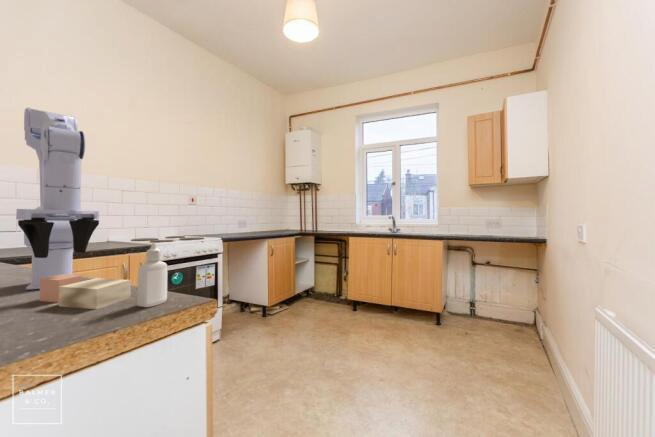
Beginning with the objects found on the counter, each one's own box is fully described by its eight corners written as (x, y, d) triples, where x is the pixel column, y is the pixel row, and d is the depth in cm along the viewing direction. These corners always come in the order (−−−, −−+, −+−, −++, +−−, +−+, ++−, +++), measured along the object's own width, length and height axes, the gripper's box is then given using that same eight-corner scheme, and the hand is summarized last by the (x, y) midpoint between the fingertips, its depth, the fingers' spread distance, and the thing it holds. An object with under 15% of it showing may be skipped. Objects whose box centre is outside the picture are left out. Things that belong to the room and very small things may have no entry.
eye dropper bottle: (171, 303, 60) (173, 243, 60) (139, 309, 56) (141, 244, 56) (163, 298, 63) (165, 241, 63) (133, 304, 59) (134, 243, 59)
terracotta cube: (39, 301, 60) (39, 278, 60) (62, 295, 64) (63, 274, 64) (58, 303, 59) (59, 280, 59) (80, 296, 63) (81, 275, 63)
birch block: (58, 307, 57) (59, 286, 57) (96, 296, 65) (97, 277, 65) (96, 310, 56) (96, 289, 56) (130, 298, 64) (130, 280, 64)
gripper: (39, 184, 54) (38, 261, 54) (110, 191, 68) (109, 251, 68) (7, 184, 55) (6, 259, 55) (84, 191, 69) (82, 250, 69)
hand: (61, 255), depth 61 cm, fingers open, 7 cm apart
